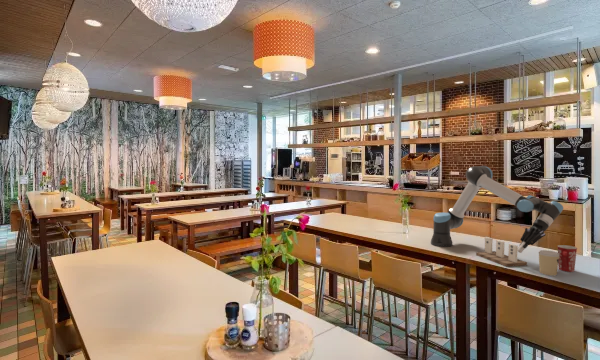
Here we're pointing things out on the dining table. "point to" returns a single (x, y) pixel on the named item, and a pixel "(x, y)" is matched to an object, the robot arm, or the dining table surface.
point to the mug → (567, 258)
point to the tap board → (500, 259)
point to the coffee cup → (548, 262)
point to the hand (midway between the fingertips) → (518, 251)
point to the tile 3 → (512, 253)
